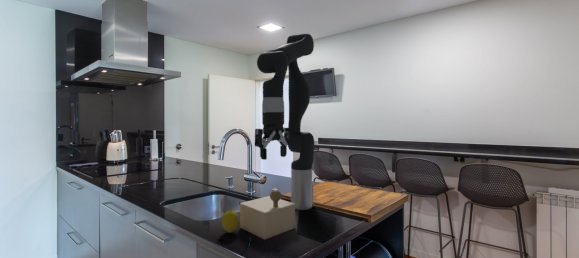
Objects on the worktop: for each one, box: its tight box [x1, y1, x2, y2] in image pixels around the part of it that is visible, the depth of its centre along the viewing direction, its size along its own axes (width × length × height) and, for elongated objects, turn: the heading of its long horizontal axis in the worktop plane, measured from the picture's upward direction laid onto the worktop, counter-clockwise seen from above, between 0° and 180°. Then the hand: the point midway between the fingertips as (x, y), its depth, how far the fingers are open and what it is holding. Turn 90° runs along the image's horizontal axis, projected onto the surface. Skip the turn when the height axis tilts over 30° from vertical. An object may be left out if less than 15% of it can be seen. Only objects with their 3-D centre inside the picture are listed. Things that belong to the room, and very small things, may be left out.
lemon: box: [221, 209, 240, 234], centre depth 100 cm, size 6×6×8 cm
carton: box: [239, 205, 296, 240], centre depth 104 cm, size 14×14×8 cm
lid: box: [239, 189, 295, 215], centre depth 104 cm, size 14×14×6 cm
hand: (273, 157), depth 100 cm, fingers open, 8 cm apart
